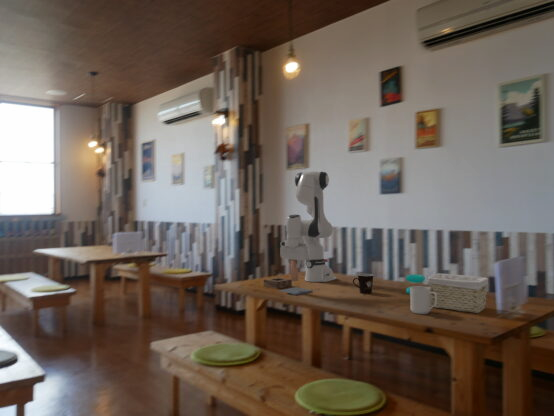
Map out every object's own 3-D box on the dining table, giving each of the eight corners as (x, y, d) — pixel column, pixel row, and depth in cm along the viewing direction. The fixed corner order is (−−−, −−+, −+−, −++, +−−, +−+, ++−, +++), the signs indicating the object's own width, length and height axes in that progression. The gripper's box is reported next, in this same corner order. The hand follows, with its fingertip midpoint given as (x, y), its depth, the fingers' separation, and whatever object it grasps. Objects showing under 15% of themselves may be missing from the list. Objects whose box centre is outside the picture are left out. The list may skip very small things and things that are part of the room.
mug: (407, 312, 205) (406, 288, 204) (415, 308, 211) (414, 285, 211) (433, 316, 197) (432, 291, 197) (440, 312, 204) (440, 288, 203)
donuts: (421, 277, 240) (403, 275, 246) (421, 296, 240) (403, 294, 246) (427, 274, 248) (409, 273, 254) (427, 292, 249) (409, 291, 254)
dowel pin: (294, 279, 260) (294, 259, 260) (299, 280, 257) (299, 259, 257) (289, 280, 257) (289, 259, 257) (294, 281, 254) (294, 260, 254)
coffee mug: (372, 291, 256) (372, 273, 256) (374, 294, 247) (374, 276, 247) (352, 291, 257) (351, 273, 257) (353, 294, 248) (352, 276, 248)
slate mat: (295, 288, 267) (295, 287, 267) (312, 292, 256) (312, 290, 256) (277, 292, 258) (277, 290, 258) (294, 295, 247) (294, 293, 247)
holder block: (278, 285, 279) (278, 277, 279) (291, 287, 270) (291, 279, 270) (263, 287, 271) (263, 279, 271) (277, 290, 262) (276, 282, 262)
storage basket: (489, 308, 211) (489, 276, 211) (480, 315, 198) (480, 281, 198) (438, 302, 226) (438, 272, 226) (426, 308, 213) (426, 277, 213)
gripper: (311, 243, 251) (311, 268, 251) (286, 242, 266) (286, 265, 266) (303, 244, 247) (303, 269, 247) (278, 242, 262) (278, 266, 262)
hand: (294, 267), depth 257 cm, fingers closed on dowel pin, 4 cm apart
